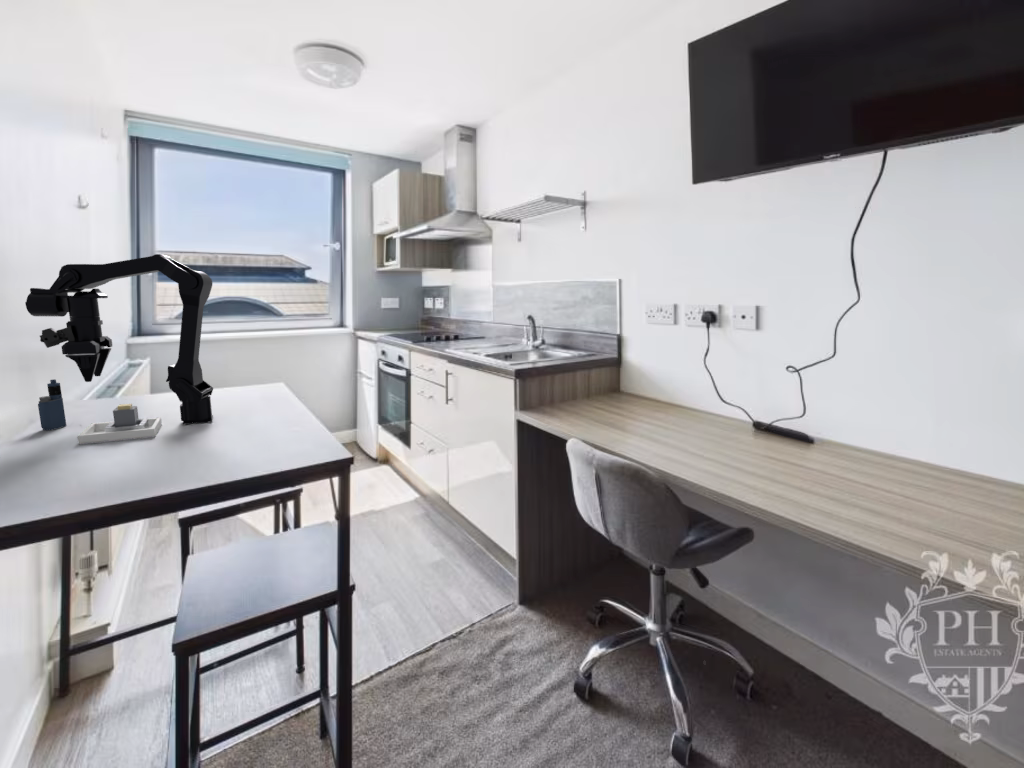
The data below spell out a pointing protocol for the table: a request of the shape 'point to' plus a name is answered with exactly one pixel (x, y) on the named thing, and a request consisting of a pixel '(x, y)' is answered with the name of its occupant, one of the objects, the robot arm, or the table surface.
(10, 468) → the table surface
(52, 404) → the vaping device
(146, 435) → the walled tray
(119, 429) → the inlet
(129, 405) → the block
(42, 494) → the table surface
